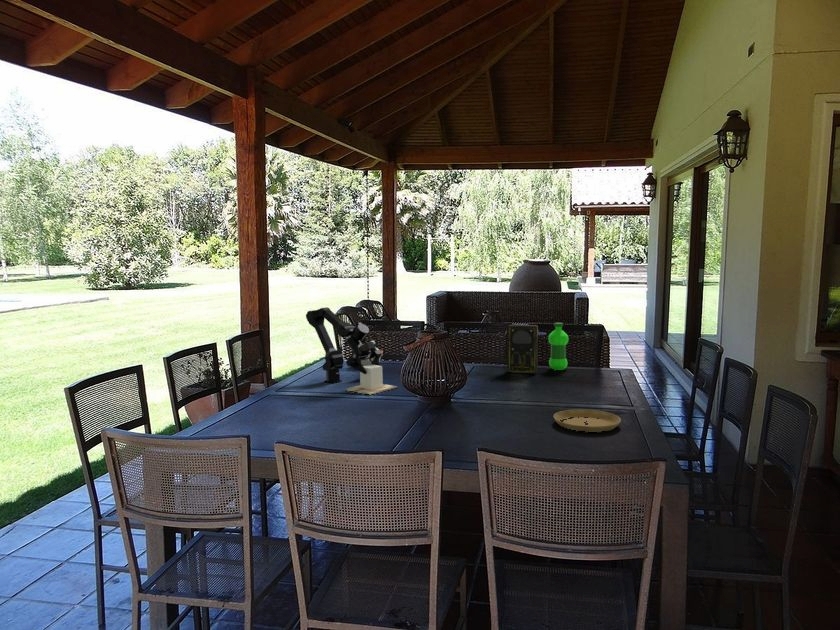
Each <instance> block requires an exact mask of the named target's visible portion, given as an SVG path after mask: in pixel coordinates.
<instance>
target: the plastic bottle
mask: <svg viewBox="0 0 840 630" xmlns="http://www.w3.org/2000/svg"><path fill="white" fill-rule="evenodd" d="M553 326H554V328H555V329H554V330H553V331H551V332H550V333H549V334H548V336H547V338H548V343H549V344H550V358H549V360H548V365H549V367H550V368H551V369H552V370H553V369H554V370H553V371H556V370H562V371H564V370H565V369H566V368H567V367H568V364H569V363H568V359H567V344H568V343H569V340H570V339H569V336H568V334H567V333H566V332H565V331H564V330H563V329H562V328H564V327H563V326H564V323H563V322H554V325H553Z"/></svg>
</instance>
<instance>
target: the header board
mask: <svg viewBox="0 0 840 630" xmlns="http://www.w3.org/2000/svg"><path fill="white" fill-rule="evenodd" d="M394 388H397V389H398V386H397V385H392V384H384V383H383V387H381V388H377V389H373V390H369V389H364V388H360V385H355V386H352V387H347V388H345V391H346V390H348V391H347V392H349V391H354V392H358V393H357V394H359V393H363V394H362V395H364V394H369V395H371V394H375V395H377V394H376V393H379V394H381V393H380V392H383V391H386V392H388V391H387V390H390V391H392V390H391V389H394ZM394 390H395V389H394ZM354 392H353V393H354ZM383 393H384V392H383ZM369 395H368V396H369ZM371 396H372V395H371Z"/></svg>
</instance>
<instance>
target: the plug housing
mask: <svg viewBox="0 0 840 630" xmlns="http://www.w3.org/2000/svg"><path fill="white" fill-rule="evenodd" d="M363 367H364V369H365V370H366V372H367V373H366V374H364V373H362V372H360V371H359V377H360V378H359V383H360V388H364V389H369V390H373V389H377V388H381V387H383V384H384V383H383V382H384V381H383V375H384V374H383V366H382V365H380V366H378V365H372V364H371V365H366V366H363Z"/></svg>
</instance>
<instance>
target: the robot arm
mask: <svg viewBox="0 0 840 630" xmlns="http://www.w3.org/2000/svg"><path fill="white" fill-rule="evenodd" d="M305 318H306V321H307V323H308V324H309V325H310V326H311V327H313V328H314V329H315V332H316V333H317V336H318V339H319V341H320V343H321V345H322V347H323V350H324V352H325V354H324V360H325V362H324V363H323V365H322V370H323V371H325V372H326V373H325V374H326V375H325V376H326V380H324V381H327V382H326V383H328V382H331V383H330V384H335V383H334V382H336V383H339V382H338V381H340V382H342V381H343V380H342V379H341V375H340V370H342V369H343V365H344V355H343V353H342V351H341V349H336V348H335V346H334V344H333V342H332V340H331V337H330V334H329V332H328V330H327V328H326V326H325V321H327V322H328V323H329V324H330V325H332V327H334V328H335V330H336V334H338V336H339V337H340V338H343V339H344V338H346V339H345V340H344V346H349V348H350V350H351V355H349V357H348V358H347V360H346V361H345V362H346V363H345V364H346V365H347V367H349V368H353V369H354V370H357V371H359V373H360V372H362V373H364V374H366V373H367V372H366V370H365V369H364V367H363V365H362V364H361V361H362V360H367V359H369V360H370V361H371V364H372V365H378V366H381V363H380V362H379V358H380V357H381V355H382V356H383V354H382V353H381V351H380V350H381V349H379V350H376V351H373V352H372V353H371V354H370V355H369V353H370V352H371V351H370V350H372V349H374V348H375V347H376V346H377V343H376V342H375V341H374V340H370V341H369V342H365V343H362V341H363V340H364V338H365V337H366V336H367V335H368V333H369V332H370V329H369V326H367V324H364V323H362V322H361V321H360V322H357V323H356V324H355V326H354V325H353V324H351V323H350V322H347V321H344V320H342V318H340V317H339V316H338V315H336V313H334V312H333V311H332V310H331V308H330V307H326V306H325V307H320V308H319V309H314V310H308V311H307V312H306V314H305ZM376 348H377V347H376ZM381 358H382V357H381ZM381 358H380V359H381Z"/></svg>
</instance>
